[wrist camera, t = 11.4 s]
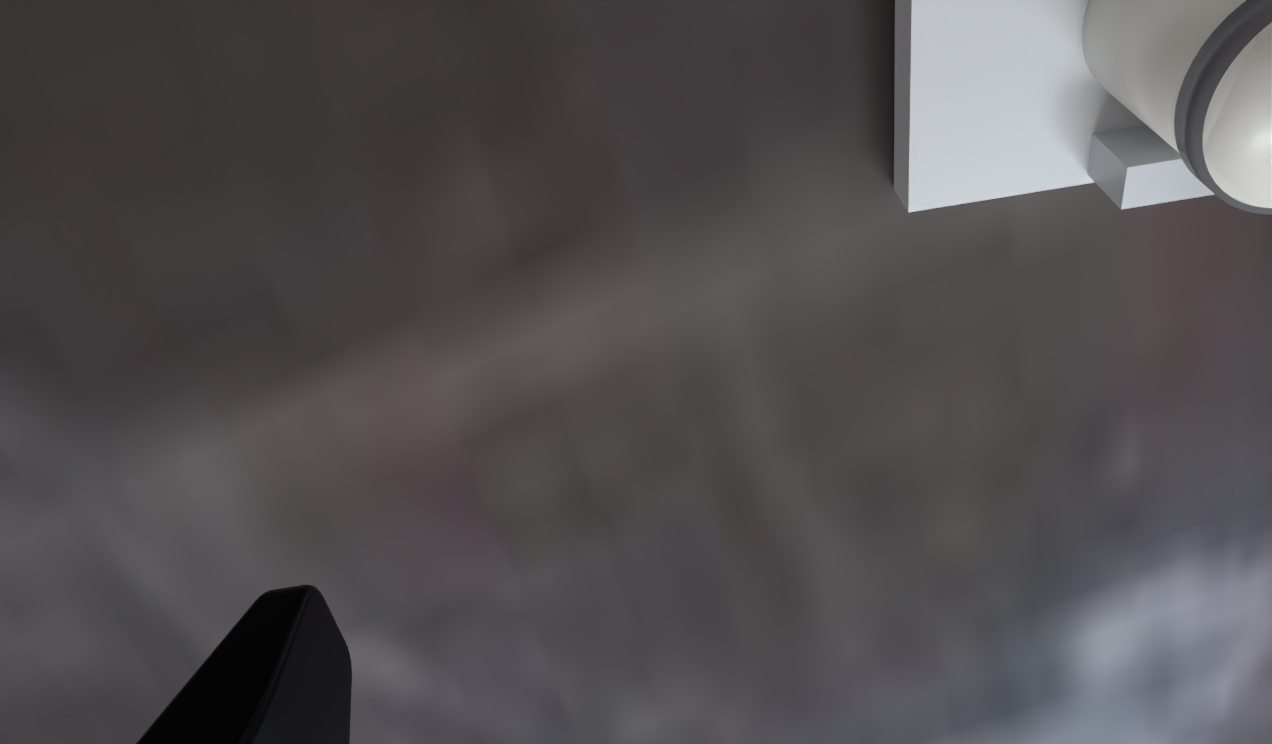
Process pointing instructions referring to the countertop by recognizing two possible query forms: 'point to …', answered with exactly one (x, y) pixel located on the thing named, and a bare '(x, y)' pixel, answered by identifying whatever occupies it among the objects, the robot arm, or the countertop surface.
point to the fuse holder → (1083, 100)
